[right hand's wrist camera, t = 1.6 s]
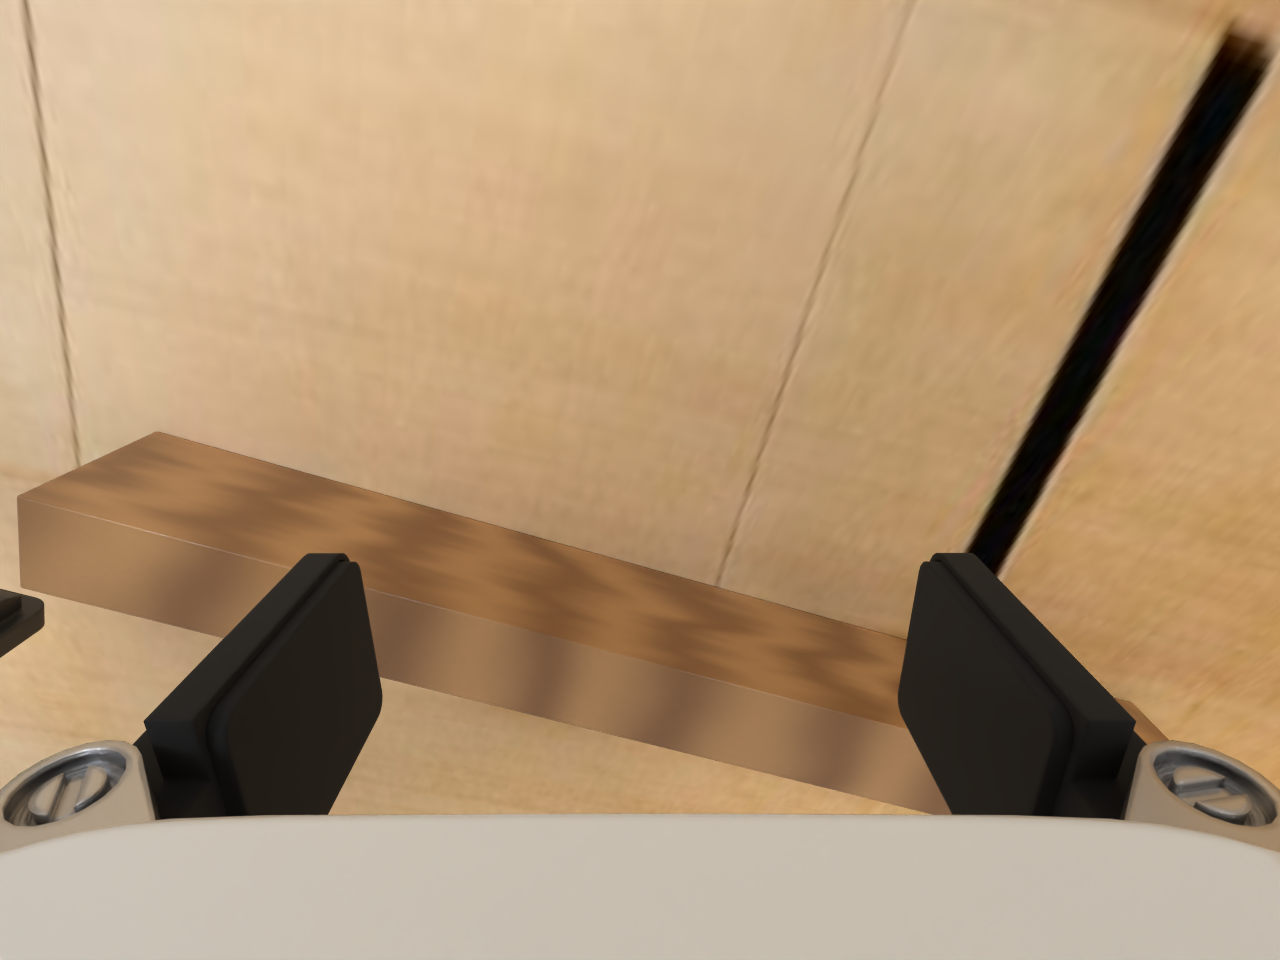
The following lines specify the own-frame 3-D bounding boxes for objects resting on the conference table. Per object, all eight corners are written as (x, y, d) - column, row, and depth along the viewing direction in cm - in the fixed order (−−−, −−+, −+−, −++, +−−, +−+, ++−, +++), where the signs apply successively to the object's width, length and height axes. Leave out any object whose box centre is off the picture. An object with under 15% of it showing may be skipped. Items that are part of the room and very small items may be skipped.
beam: (1133, 702, 42) (1247, 819, 34) (1093, 756, 43) (1193, 880, 35) (156, 430, 35) (15, 495, 27) (152, 506, 37) (19, 588, 29)
